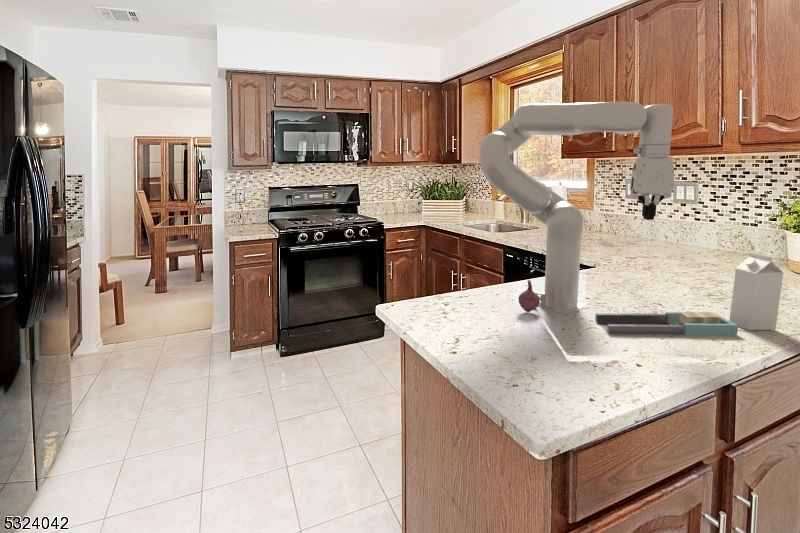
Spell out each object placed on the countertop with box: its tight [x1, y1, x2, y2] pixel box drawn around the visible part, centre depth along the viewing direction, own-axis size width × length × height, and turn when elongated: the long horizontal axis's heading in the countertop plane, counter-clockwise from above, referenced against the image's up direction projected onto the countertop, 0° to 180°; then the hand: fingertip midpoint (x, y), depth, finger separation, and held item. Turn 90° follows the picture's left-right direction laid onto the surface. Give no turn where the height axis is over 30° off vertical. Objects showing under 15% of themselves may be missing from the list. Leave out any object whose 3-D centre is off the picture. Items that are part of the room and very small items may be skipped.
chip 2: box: [698, 312, 722, 324], centre depth 122 cm, size 4×4×4 cm
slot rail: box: [594, 312, 686, 336], centre depth 123 cm, size 18×11×3 cm, turn 85°
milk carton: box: [728, 252, 784, 331], centre depth 124 cm, size 7×7×19 cm
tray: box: [664, 311, 739, 336], centre depth 122 cm, size 12×11×4 cm
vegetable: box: [518, 279, 541, 313], centre depth 140 cm, size 6×6×10 cm
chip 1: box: [678, 313, 704, 325], centre depth 122 cm, size 4×4×4 cm
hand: (648, 219), depth 134 cm, fingers closed
